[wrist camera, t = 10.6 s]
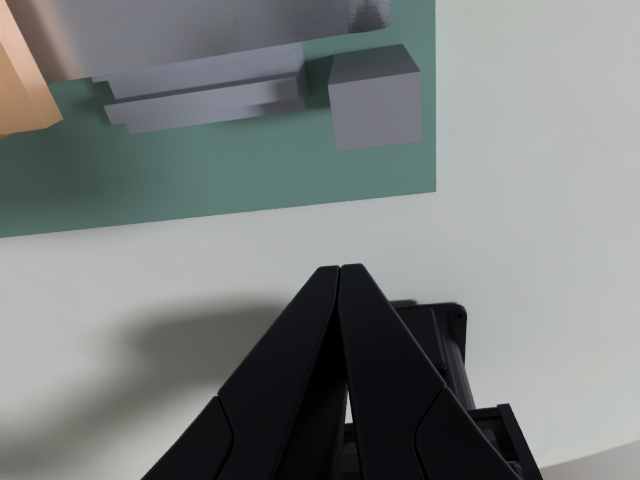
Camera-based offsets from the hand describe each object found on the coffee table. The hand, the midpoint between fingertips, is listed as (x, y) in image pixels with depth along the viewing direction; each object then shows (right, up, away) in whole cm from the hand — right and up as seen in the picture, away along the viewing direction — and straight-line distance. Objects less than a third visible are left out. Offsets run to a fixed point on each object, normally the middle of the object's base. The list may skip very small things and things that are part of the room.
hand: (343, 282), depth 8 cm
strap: (-5, +8, +5) cm, 11 cm away
